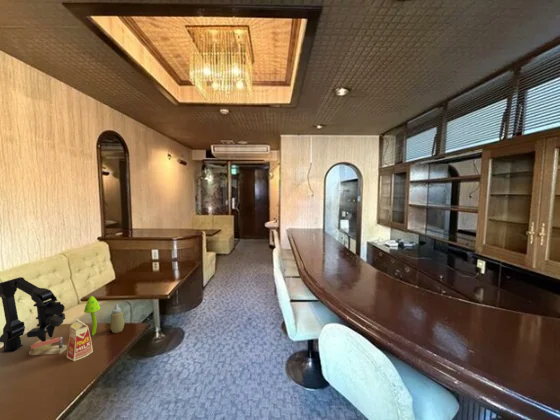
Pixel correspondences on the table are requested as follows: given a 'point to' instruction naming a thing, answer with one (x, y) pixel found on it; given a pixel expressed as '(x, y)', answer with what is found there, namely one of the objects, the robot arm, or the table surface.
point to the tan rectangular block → (42, 348)
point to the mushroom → (92, 311)
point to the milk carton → (79, 341)
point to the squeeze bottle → (116, 320)
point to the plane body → (50, 350)
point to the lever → (46, 342)
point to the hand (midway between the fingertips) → (47, 339)
